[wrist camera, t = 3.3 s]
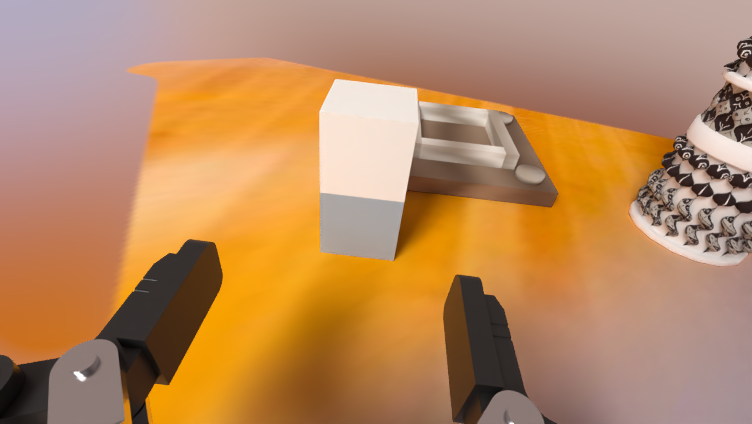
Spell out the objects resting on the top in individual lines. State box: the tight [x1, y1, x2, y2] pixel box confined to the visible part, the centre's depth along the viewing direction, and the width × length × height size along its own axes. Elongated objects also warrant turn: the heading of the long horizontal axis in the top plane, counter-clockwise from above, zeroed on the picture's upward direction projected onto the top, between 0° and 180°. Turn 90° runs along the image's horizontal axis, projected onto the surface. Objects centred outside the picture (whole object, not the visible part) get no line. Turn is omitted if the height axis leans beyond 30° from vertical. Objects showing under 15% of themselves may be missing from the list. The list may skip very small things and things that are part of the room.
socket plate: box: [407, 101, 558, 207], centre depth 36 cm, size 16×16×3 cm
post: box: [319, 79, 419, 261], centre depth 23 cm, size 5×5×10 cm
